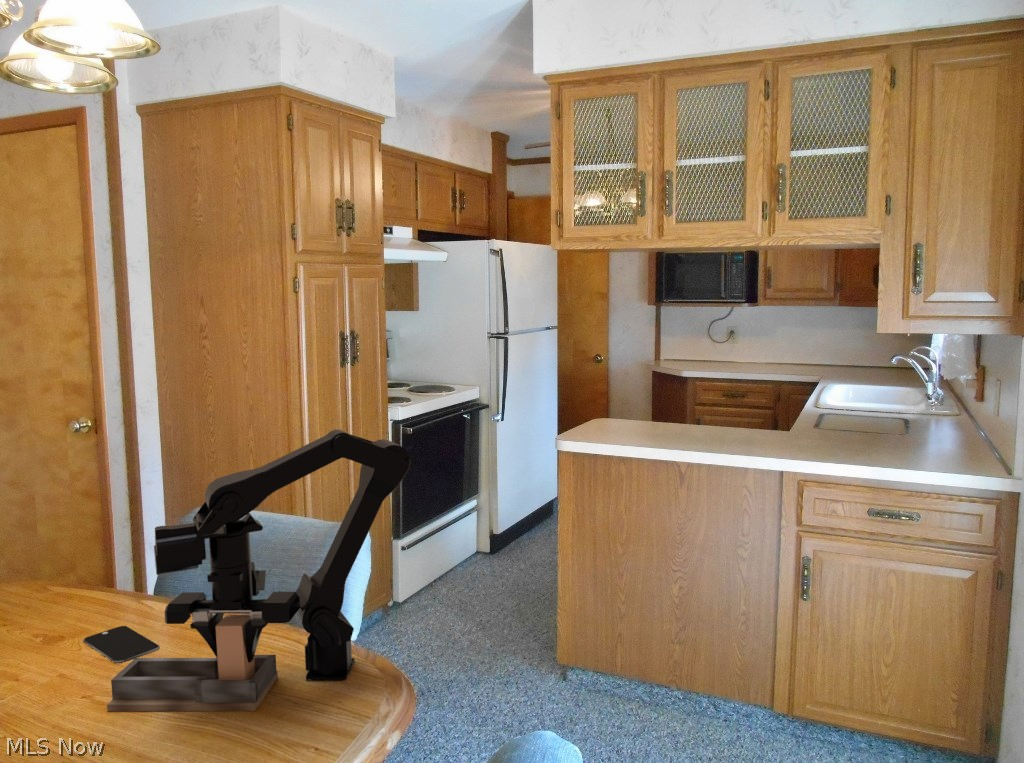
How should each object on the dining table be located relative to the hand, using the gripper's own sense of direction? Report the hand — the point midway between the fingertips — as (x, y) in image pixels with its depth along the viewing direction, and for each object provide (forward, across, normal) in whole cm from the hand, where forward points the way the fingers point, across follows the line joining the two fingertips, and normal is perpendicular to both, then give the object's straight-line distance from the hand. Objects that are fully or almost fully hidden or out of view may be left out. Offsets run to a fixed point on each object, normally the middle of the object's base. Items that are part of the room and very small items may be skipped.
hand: (236, 661), depth 116 cm
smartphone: (+6, +28, -17) cm, 33 cm away
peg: (+4, 0, 0) cm, 4 cm away
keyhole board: (+5, +7, 0) cm, 8 cm away
